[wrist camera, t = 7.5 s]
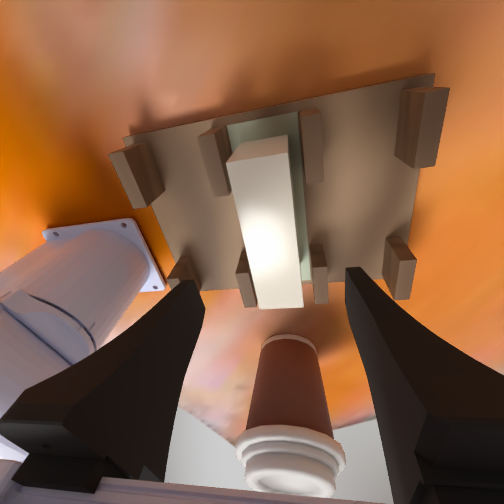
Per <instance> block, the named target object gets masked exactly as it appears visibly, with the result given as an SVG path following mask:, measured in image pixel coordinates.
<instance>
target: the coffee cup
mask: <svg viewBox="0 0 504 504" xmlns="http://www.w3.org/2000/svg"><path fill="white" fill-rule="evenodd" d="M236 457H237V458H238V459H239V460H240V461H241V462H242V466H243V467H244V468H245V482H246V483H247V484H248V485H249V486H250V487H251V488H252V489H253V490H255V491H258V492H268V493H279V494H289V495H300V496H310V497H321V498H329V497H331V496H332V494H333V493H334V491H335V489H336V486H335V479H336V477H337V475H338V474H339V473H341V472H342V470H343V468H344V466H345V465H346V459H345V453H344V451H343V449H342V447H341V445H340V443H338V442H337V441H335V440H334V437H333V432H332V427H331V422H330V417H329V412H328V407H327V402H326V397H325V392H324V387H323V382H322V377H321V372H320V367H319V362H318V357H317V351H316V348H315V346H314V344H313V343H311V342H310V341H309V340H308V339H306V338H304V337H301V336H299V335H294V334H280V335H274V336H272V337H270V338H268V339H266V340H265V342H264V343H263V344H262V346H261V353H260V358H259V364H258V369H257V374H256V379H255V384H254V390H253V395H252V400H251V405H250V410H249V416H248V421H247V426H246V430H245V431H244V432H243V433H242V434H240V435H239V436H238V437H237V440H236Z"/></svg>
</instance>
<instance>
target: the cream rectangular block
mask: <svg viewBox="0 0 504 504" xmlns="http://www.w3.org/2000/svg"><path fill="white" fill-rule="evenodd" d="M226 166H227V171H228V175H229V179H230V184H231V188H232V192H233V196H234V201H235V205H236V209H237V214H238V218H239V222H240V227H241V231H242V235H243V239H244V244H245V248H246V252H247V257H248V261H249V265H250V270H251V274H252V278H253V282H254V287H255V291H256V295H257V300H258V304H259V308H260V309H278V308H300V307H304V304H303V290H302V276H301V263H300V252H299V242H298V232H297V222H296V212H295V202H294V192H293V182H292V172H291V162H290V152H289V142H288V134H287V135H282V136H276V137H271V138H265V139H260V140H254V141H248V142H243V143H241V144H240V145H239V146H238V148H237V149H236V150H235V151H234V153H233V154H232V155H231V157H230V158H229V159H228V161H227V162H226Z"/></svg>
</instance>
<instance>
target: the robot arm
mask: <svg viewBox="0 0 504 504" xmlns="http://www.w3.org/2000/svg"><path fill="white" fill-rule="evenodd" d="M123 223H125V224H126V226H125V225H124V224H123ZM42 234H43V236H44V238H45V239H46V240H47V242H45V243H44V244H42V245H41V246H39V247H38V248H36V249H35V250H33V251H32V252H30V253H29V254H27V255H26V256H24V257H23V258H21V259H20V260H18V261H17V262H15V263H14V264H12V265H11V266H9V267H8V268H6V269H4V270H3V271H1V272H0V504H384V503H373V502H363V501H352V500H341V499H331V498H321V497H310V496H300V495H289V494H279V493H268V492H258V491H247V490H237V489H225V488H215V487H204V486H194V485H184V484H173V483H164V479H165V472H166V465H167V459H168V453H169V446H170V441H171V435H172V430H173V425H174V420H175V415H176V411H177V406H178V402H179V397H180V393H181V389H182V385H183V381H184V377H185V374H186V371H187V368H188V365H189V362H190V359H191V357H192V354H193V351H194V348H195V345H196V343H197V340H198V337H199V334H200V331H201V328H202V324H203V319H204V314H205V306H204V304H203V301H202V299H201V296H200V294H199V291H198V289H197V286H196V283H195V281H194V279H192V280H182V281H181V282H180V283H179V284H178V285H176V286H175V287H174V288H173V289H172V290H171V291H170V292H169V293H168V294H167V295H166V296H165V297H164V298H162V299H161V300H160V301H159V302H158V303H157V304H156V305H155V306H154V307H153V308H152V309H151V310H149V311H148V312H147V313H146V314H145V315H144V316H142V317H141V318H140V319H139V320H138V321H137V322H135V323H134V324H133V325H132V326H131V327H129V328H128V329H127V330H125V331H124V332H123V333H121V334H120V335H119V336H117V337H116V338H115V339H113V340H112V341H110V342H109V343H107V344H106V345H104V346H103V347H101V345H102V344H103V342H104V341H105V339H106V338H107V337H108V335H109V334H110V332H111V331H112V330H113V328H114V327H115V325H116V324H117V323H118V321H119V320H120V318H121V317H122V315H123V314H124V313H125V311H126V310H127V308H128V307H129V306H130V304H131V303H132V301H133V300H134V299H135V297H136V296H137V294H138V293H139V292H149V291H162V290H164V289H165V288H166V284H165V282H164V280H163V278H162V276H161V274H160V271H159V269H158V267H157V265H156V263H155V261H154V259H153V257H152V255H151V253H150V251H149V248H148V246H147V244H146V242H145V240H144V238H143V236H142V234H141V232H140V230H139V228H138V225H137V223H136V222H135V220H134V219H132V218H123V219H116V220H109V221H101V222H94V223H87V224H79V225H72V226H64V227H57V228H50V229H45V230H44V231H43V232H42ZM156 286H157V287H156ZM345 304H346V309H347V314H348V319H349V323H350V326H351V329H352V332H353V335H354V338H355V341H356V344H357V347H358V350H359V353H360V356H361V359H362V362H363V365H364V368H365V371H366V375H367V378H368V382H369V387H370V391H371V395H372V400H373V404H374V409H375V413H376V418H377V422H378V427H379V431H380V436H381V441H382V446H383V451H384V456H385V460H386V465H387V470H388V476H389V481H390V486H391V491H392V496H393V501H394V504H504V375H502V374H500V373H498V372H496V371H495V370H493V369H491V368H489V367H487V366H486V365H484V364H482V363H480V362H479V361H477V360H475V359H473V358H472V357H470V356H468V355H467V354H465V353H463V352H462V351H460V350H459V349H457V348H456V347H454V346H452V345H451V344H449V343H448V342H446V341H445V340H443V339H441V338H440V337H438V336H437V335H436V334H434V333H433V332H431V331H430V330H429V329H427V328H426V327H425V326H423V325H422V324H421V323H419V322H418V321H417V320H415V319H414V318H413V317H412V316H411V315H409V314H408V313H407V312H406V311H405V310H403V309H402V308H401V307H400V306H399V305H398V304H397V303H396V302H394V301H393V300H392V299H391V298H390V297H389V296H388V295H387V294H386V293H385V292H384V291H383V290H382V289H381V288H380V287H379V286H378V285H377V284H376V283H375V282H374V281H373V280H372V279H371V278H370V277H369V275H368V274H367V273H366V272H365V271H364V270H363V269H362V268H361V267H347V268H345ZM100 347H101V348H100ZM99 348H100V349H99Z"/></svg>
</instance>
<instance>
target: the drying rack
mask: <svg viewBox="0 0 504 504" xmlns="http://www.w3.org/2000/svg"><path fill="white" fill-rule="evenodd" d="M434 77H435V73H431V74H423V75H418V76H413V77H409V78H404V79H399V80H394V81H389V82H385V83H380V84H375V85H370V86H365V87H361V88H356V89H351V90H346V91H341V92H337V93H332V94H327V95H322V96H317V97H312V98H308V99H303V100H298V101H293V102H288V103H284V104H279V105H274V106H269V107H264V108H260V109H255V110H250V111H245V112H240V113H236V114H231V115H226V116H221V117H216V118H212V119H207V120H202V121H197V122H192V123H187V124H183V125H178V126H173V127H168V128H163V129H159V130H154V131H149V132H144V133H139V134H135V135H130V136H127V137H124V138H123V140H124V143H125V145H126V147H125V148H123V149H120V150H118V151H115V152H113V153H110V154H108V156H109V158H110V160H111V162H112V164H113V166H114V169H115V171H116V173H117V175H118V177H119V179H120V181H121V183H122V186H123V188H124V190H125V192H126V194H127V196H128V198H129V200H130V203H131V205H132V207H133V209H137V208H144V207H148V206H149V205H150V204H151V206H152V209H153V211H154V213H155V216H156V218H157V220H158V223H159V225H160V227H161V230H162V232H163V234H164V237H165V239H166V241H167V244H168V246H169V248H170V251H171V253H172V255H173V258H174V260H175V263H176V265H175V266H174V268H173V269H172V271H171V273H170V274H169V276H168V278H167V282H168V284H169V286H170V288H171V290H172V289H173V288H174V287H175V286H176V285H178V284H179V283H180V282H181V281H182V280H192V279H194V281H195V283H196V286H197V289H198V291H199V293H200V291H208V290H223V289H238V288H239V289H240V293H241V296H242V300H243V304H244V307H245V308H247V307H257V301H258V300H257V295H256V291H255V287H254V282H253V278H252V274H251V270H250V265H249V261H248V257H247V252H246V248H245V244H244V239H243V235H242V231H241V227H240V222H239V218H238V214H237V209H236V205H235V201H234V196H233V192H232V188H231V184H230V179H229V175H228V171H227V166H226V162H227V161H228V159H229V158H230V157H231V155H232V154H233V153H234V151H235V150H236V149H237V148H238V146H239V145H240V144H241V143H243V142H248V141H254V140H260V139H265V138H271V137H276V136H282V135H287V134H288V142H289V152H290V162H291V172H292V182H293V192H294V202H295V212H296V222H297V232H298V242H299V252H300V263H301V276H302V284H313V291H314V299H315V304H327V303H329V300H328V283H329V282H344V281H345V268H347V267H361V268H362V269H363V270H364V271H365V272H366V273H367V274H368V275H369V277H370V278H371V279H372V280H374V279H384V280H385V282H386V284H387V286H388V288H389V290H390V293H391V295H392V297H393V299H394V300H406V299H409V298H410V293H411V288H412V283H413V278H414V272H415V267H416V262H417V259H416V258H415V256H414V255H413V254H412V252H411V251H410V250H409V248H408V247H407V244H408V238H409V231H410V225H411V219H412V213H413V207H414V200H415V194H416V188H417V182H418V176H419V170H420V168H425V167H432V166H435V163H436V158H437V153H438V148H439V142H440V137H441V132H442V127H443V121H444V116H445V111H446V106H447V101H448V95H449V90H450V88H446V87H433V83H434Z"/></svg>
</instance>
